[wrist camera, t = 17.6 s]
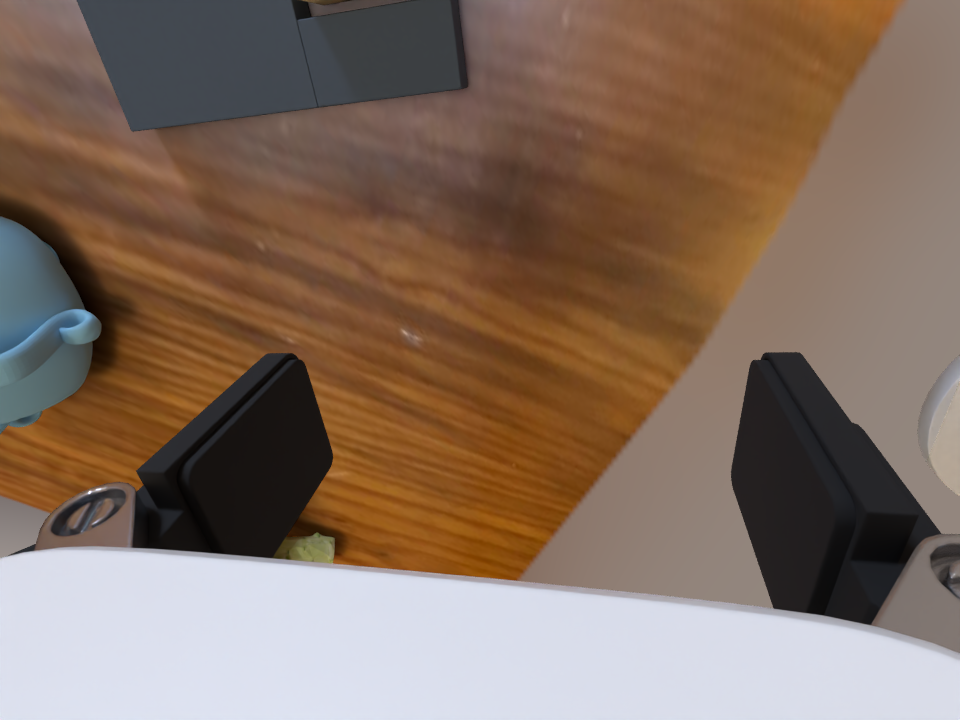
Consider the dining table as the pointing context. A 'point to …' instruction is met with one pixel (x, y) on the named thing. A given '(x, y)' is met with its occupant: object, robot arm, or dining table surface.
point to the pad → (325, 1)
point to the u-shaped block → (269, 56)
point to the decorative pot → (38, 328)
